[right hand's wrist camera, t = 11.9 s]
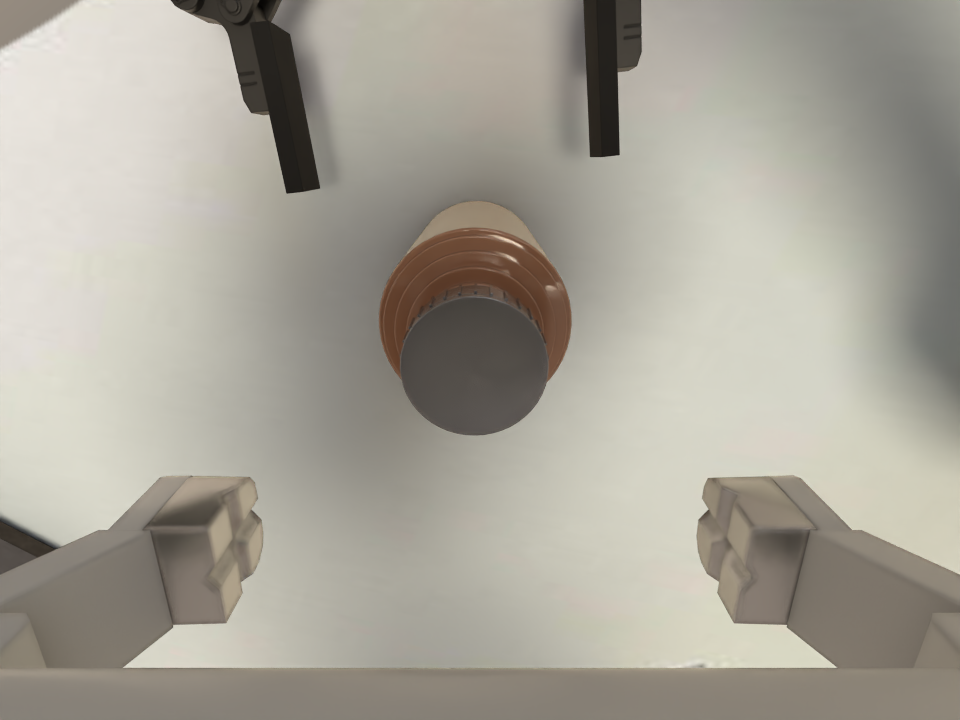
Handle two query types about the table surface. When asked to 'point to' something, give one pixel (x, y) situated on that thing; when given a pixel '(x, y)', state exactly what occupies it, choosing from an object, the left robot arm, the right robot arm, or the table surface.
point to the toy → (18, 548)
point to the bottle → (476, 274)
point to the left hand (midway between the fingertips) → (452, 174)
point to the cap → (474, 360)
